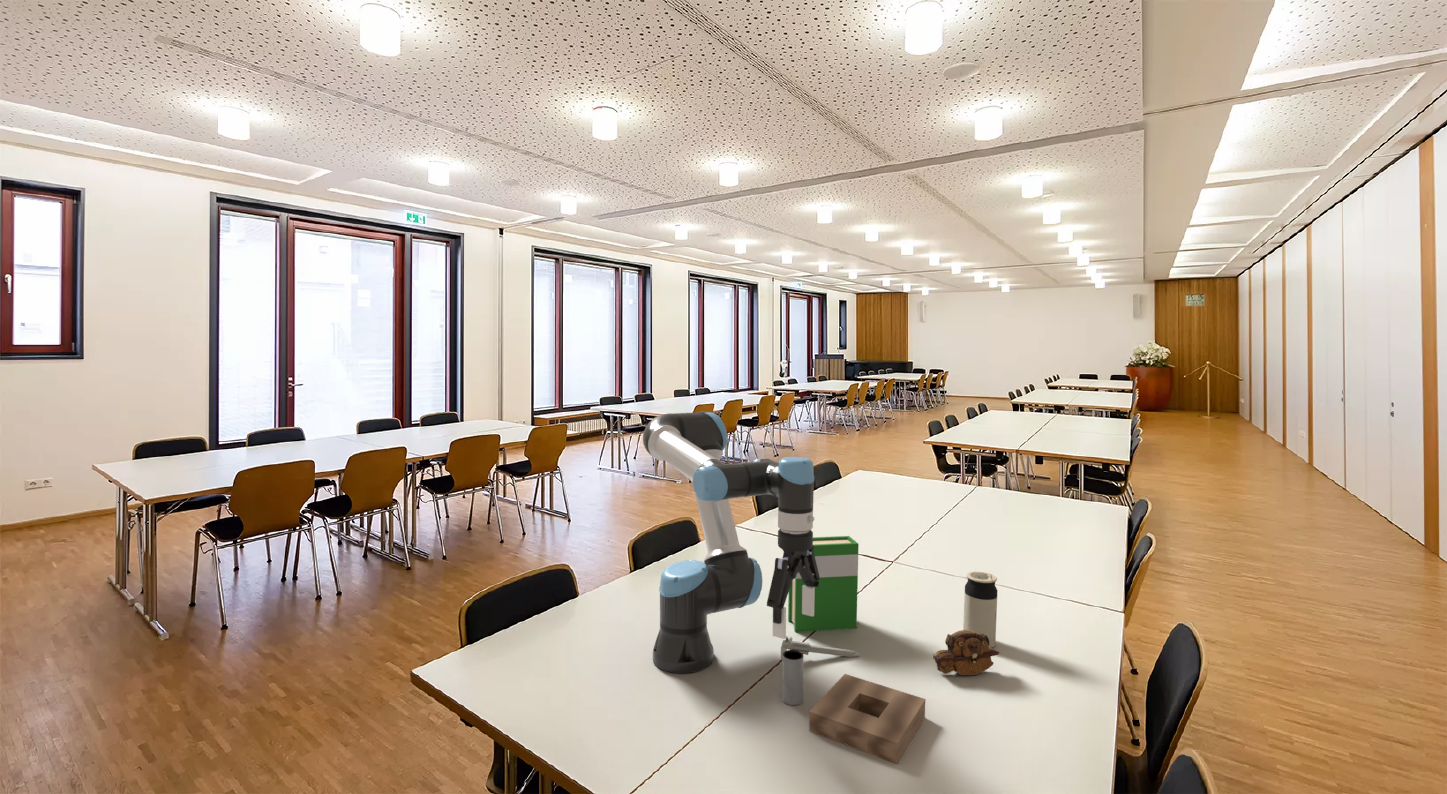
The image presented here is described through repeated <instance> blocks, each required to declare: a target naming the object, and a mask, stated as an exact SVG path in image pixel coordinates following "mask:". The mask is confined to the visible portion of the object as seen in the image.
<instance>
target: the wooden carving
mask: <svg viewBox="0 0 1447 794" xmlns="http://www.w3.org/2000/svg"><path fill="white" fill-rule="evenodd" d="M944 643H945V645H946V646H947V649H940V650H937V651H936V652H935V653H933V654H932V659H933V660H934V661H935V662H934V663H936V667H937V670H938V671H939V672H940V673H942V674H944V675H947V674H950V673H953V672H955V673H957V674H959V675H963V676H974V675H977V674H981V673H983V672H986V671H987V670H988V669H990V668H991V667H992V666H993V665H994V661H992V658H991V657H995V656H998V655H1000V651H998V650H996V649H995V648H993V647H991V648H989V639H988V637H987V635H984V633H977V632H974V631H970V630H963V629H962V630H958V631H956V632H955V631H954V633H952V634H949V633H947V635H946V638H945V642H944Z"/></svg>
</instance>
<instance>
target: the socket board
mask: <svg viewBox="0 0 1447 794" xmlns="http://www.w3.org/2000/svg"><path fill="white" fill-rule="evenodd" d="M925 717H926V698H923V697H920V696H917V695H914V694H910V693H907V692H905V691H901V690H898V689H895V688H892V687H888V686H885V685H881V684H879V683H876V682H872V681H869V680H866V679H863V678H859V677H856V676H853V675H850V674H847V673H844V674H843V675H842V676H841V677H840V678H839V679H838V681H836V682H835V684H834V685H832V687H831V688H830V689H829V690H828V691H827V692H825V694H824V695H823V696H822V697H821V698H820V699H819V701H818V702H817V703H816V704H815V705H814V706H813V707H812V708H811V709H810V710H809V718H808V719H809V721H808V725H809V726H808V730H809V731H810V732H812V733H815V734H817V735H820V736H822V737H825V738H828V739H830V740H833V741H836V742H838V743H841V744H844V745H846V746H849V747H851V748H854V749H856V750H859V751H862V752H865V753H866V754H869V755H872V756H875V757H877V758H880V759H883V760H886V761H888V762H891V763H894V764H898V763H899V761H900V760H901V758H902V756H903V754H904V753H905V751H906V750H907V749H908V746H909V745H910V743H911V741H912V740H913V738H914V736H915V735H916V733H917V731H918V730H919V728H920V727H921V725H922V723H923V722H924V719H925Z"/></svg>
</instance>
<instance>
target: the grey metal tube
mask: <svg viewBox="0 0 1447 794" xmlns="http://www.w3.org/2000/svg"><path fill="white" fill-rule="evenodd" d="M781 672H782V673H781V674H782V676H781V677H782V678H781V679H782V681H781V683H782V685H781V700H782V702H783V703H784V704H786V705H789V706H798V705H800V704H802V703H803V698H804V654H802V653H801V652H800V651H797V650H790V649H787V651H785V652H784V653H783V661H782V669H781Z"/></svg>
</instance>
